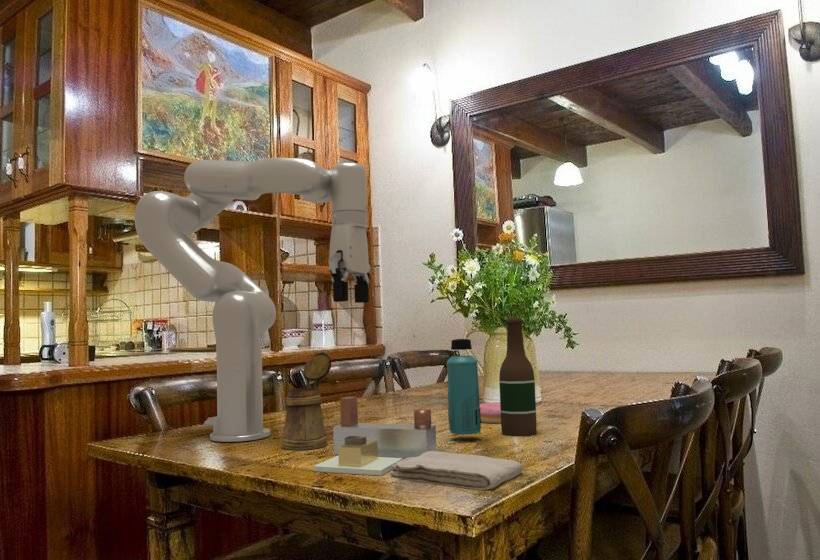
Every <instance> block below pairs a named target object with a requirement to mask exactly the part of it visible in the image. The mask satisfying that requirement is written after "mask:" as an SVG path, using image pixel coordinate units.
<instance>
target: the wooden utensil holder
mask: <svg viewBox="0 0 820 560" xmlns="http://www.w3.org/2000/svg"><path fill="white" fill-rule="evenodd" d="M332 364H333V363H332V359H331V357H330V356H329V355H328V354H327V353H326V352H324V351H321V352H319V353H316V354H315V355H313V356H312V357H310V358H309V359H308V360H307V362H306V363H305V365H304V367H303V376H304V378H305V379H306V381H307V382H306V386H305V387H304V388H303V387H301V388H300V387H299V388H298V387H296V388H288V390H287V395H286V397H285V405H286V410H285V419H284V421H285V422H284V430H283V437H282V440H281V441H282V442H281V448H282V449H284V450H289V451H309V450H316V449H321V448H325V447H326V446H327V445H328V437H327V434H326V432H325V425H324V418H323V411H322V405H321V404H322V397H321V396H322V395H321V394H320V389H319V385H320V382H321V380H324V379H325V378H326V377H327V376H328V374H329V373H330V371H331V369H332V368H331V367H332Z"/></svg>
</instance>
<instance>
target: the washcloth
mask: <svg viewBox="0 0 820 560" xmlns="http://www.w3.org/2000/svg"><path fill="white" fill-rule="evenodd" d="M391 468H392V470H390V471H389V474H390V476H393V477H394V478H397V479H400V480H407V481H414V482H421V483H427V484H435V485H442V486H450V487H458V488H463V489H464V488H465V489H472V490H479V491H486V490H487V491H489V490H493V489H495V488H497V487H499V486H500V485H501V484H503V483H505V482H507V481H510V480H513V479H515V478H516V477H518V476H520V475H521V474H522V472H523V466H522V464H521V463H520V462H519V461H516V460H513V459H512V460H511V459H506V458H493V457H490V456H486V455H475V454H466V453H465V454H464V453H453V452H445V451H437V450H436V451H428V452H425V453H423V454H421V455H420V456H418V457H410V458H403V460H401V461H399V462H396V464H393V465H391Z"/></svg>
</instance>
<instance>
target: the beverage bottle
mask: <svg viewBox="0 0 820 560" xmlns="http://www.w3.org/2000/svg"><path fill="white" fill-rule="evenodd" d="M472 349H473V347H472V341H471V339H468V338H456V339H452V340H451V346H450V350H453V351H460V350H461V351H463V350H464V351H465V350H466V351H467V350H472ZM478 363H479V362H478V360H477V358H476V357H474V356H473V355H452V356H450V358H448V360H447V361H446V370H447V374H446V375H447V376H446V377H447V392H446V393H447V402H448V403H447V406H448V408H447V413H448V428H449V432H450V433H451V434H454V435H475V434H479V433H481V429H482V422H481V414H480V404H481V400H480V388H479V387H480V385H479V383H480V382H479V371H478Z"/></svg>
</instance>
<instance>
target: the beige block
mask: <svg viewBox="0 0 820 560" xmlns="http://www.w3.org/2000/svg"><path fill="white" fill-rule="evenodd" d="M338 455H339V466H351V467H362V466H364V465H366V464H368V463H370V462H372V461H374V460H376V459H378V443H377V440H366V437H363V436H349V437H346V438H345V444H344V445H342V446H339V447H338ZM338 455H337V456H338Z"/></svg>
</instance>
